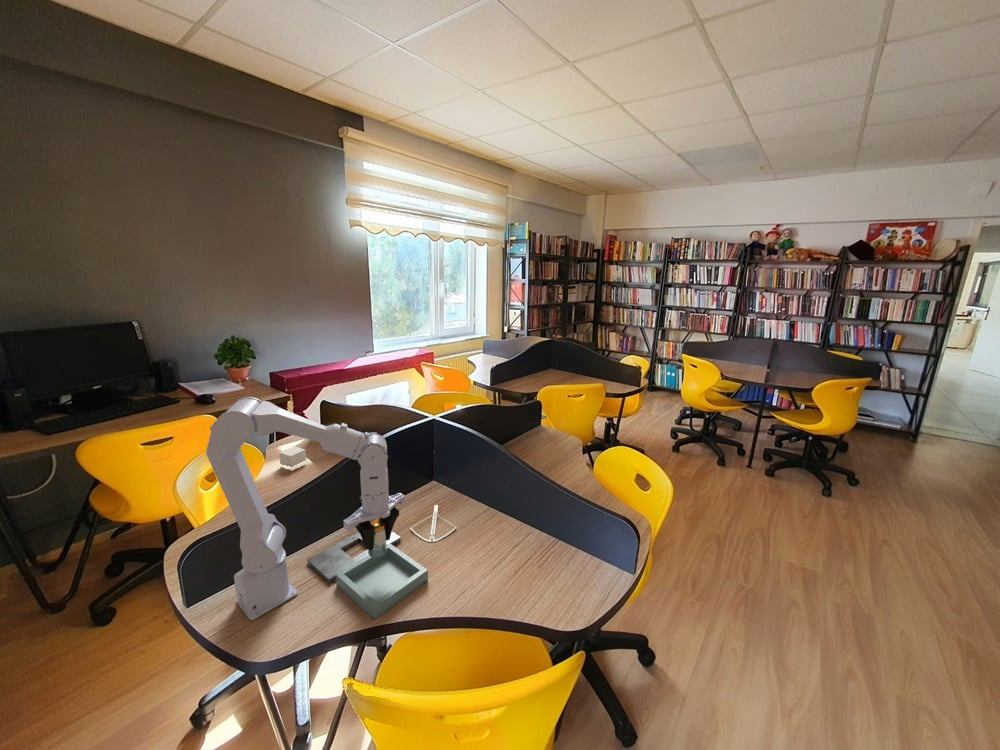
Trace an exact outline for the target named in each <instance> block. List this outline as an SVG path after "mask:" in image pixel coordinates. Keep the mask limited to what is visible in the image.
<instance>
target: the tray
mask: <svg viewBox="0 0 1000 750" xmlns="http://www.w3.org/2000/svg"><path fill="white" fill-rule="evenodd" d="M386 546H387V551H386V553H385V554H384V555H383V556H380V557H371V556H370V555H368V556H366V557H365V558H363V559H361V560H360V561H358V562H356V563H354V564H353V565H351V566H349V567H348V568H346V569H344V570H342V571H341V572H339V573H337V574H336V580H335V581H336V586H337V588H339V589H340V590H341V592H343V593H344V594H345V595H346V596H347V597H349V598H350V600H352V601H353V602H354V603H355V604H356V605H357V606H358V607H359V608H361V610H363V612H365V613H366V614H367V615H369V617H371V618H372V620H373V621H375V620H377V619H378V618H380V617H382V615H384V614H385V613H386V612H388V611H389V610H390V609H392V608H393V607H394V606H396V605H397V604H399V603H400V602H401V601H403V600H404V599H405V598H407V597H408V596H410V595H411V594H412V593H413V592H416V590H418V589H419V588H420V587H422V586H423V585H425V584H426V583H427V582H428V581H429V575H428V574H429V569H427V568H426V567H424V566H423V565H422V564H420V563H418V562H417V561H416V560H415V559H413V558H411V557H410V556H408V554H406V553H404V552H402V551H401V550H400V549H399V548H397V547H396V546H395V545H391V544H390V543H389V544H387V545H386Z"/></svg>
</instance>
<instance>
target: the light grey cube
mask: <svg viewBox="0 0 1000 750" xmlns="http://www.w3.org/2000/svg"><path fill="white" fill-rule="evenodd" d="M278 455H279V463H280V464H282V465H286V466H290V467H293V466H295V465H297V464H299V463H301V462H303V461H305V460H306V461H307V453H306V449H304V448H301V447H298V446H295V445H294V446H291V447H289V448H287V449H283V450H282V451H281V450H280V451H279V452H278Z"/></svg>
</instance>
